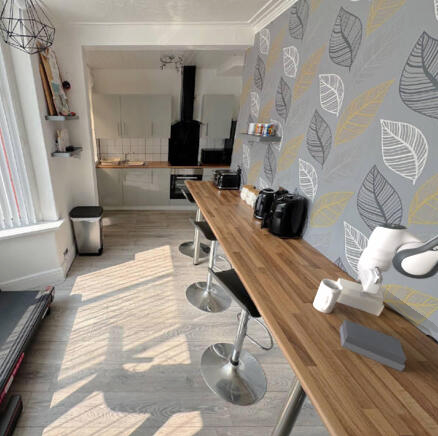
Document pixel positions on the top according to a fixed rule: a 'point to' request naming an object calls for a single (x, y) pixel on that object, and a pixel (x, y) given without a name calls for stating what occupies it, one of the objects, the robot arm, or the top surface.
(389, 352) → the grey rectangular block
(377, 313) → the white rectangular block
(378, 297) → the cream rectangular block
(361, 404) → the top surface
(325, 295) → the mug
